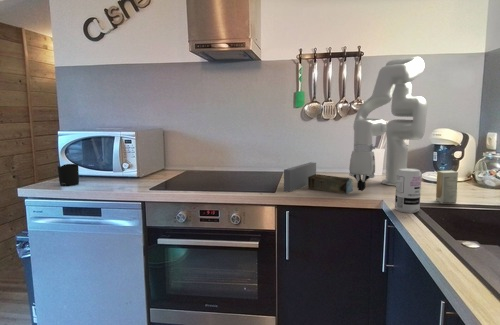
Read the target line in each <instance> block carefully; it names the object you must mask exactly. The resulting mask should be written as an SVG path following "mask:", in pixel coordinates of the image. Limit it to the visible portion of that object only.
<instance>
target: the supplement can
mask: <svg viewBox="0 0 500 325" xmlns="http://www.w3.org/2000/svg"><path fill="white" fill-rule="evenodd" d="M422 175H423V174H422V172H421V170H420V169H419V168H412V167H411V168H410V167H409V168H408V167H407V168H401V169H399V170H398V172H397V175H396V186H395V196H394V198H395V199H394V200H395V201H394V203H395V204H394V208H395V209H396V211H398V212H401V213H405V214H407V213H408V214H415V213H418V212H419V211H420V207H421V189H422Z"/></svg>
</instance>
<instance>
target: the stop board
mask: <svg viewBox="0 0 500 325" xmlns="http://www.w3.org/2000/svg"><path fill="white" fill-rule="evenodd" d="M315 174H317V162H315V161H314V162H312V161H311V162H308V163H303V164H300V165H297V166H291V167H288V168H285V169H283V192H284V193H291V192H294V191H296V190H299V189H302V188H304V187H306V186H307V187H308V177H309V176H312V175H315Z"/></svg>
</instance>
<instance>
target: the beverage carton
mask: <svg viewBox="0 0 500 325" xmlns="http://www.w3.org/2000/svg"><path fill="white" fill-rule="evenodd" d="M353 184H354V179H353V178H352V177H351V178H350V177H342V176H336V175H335V176H333V175H326V174H320V173H319V174H318V173H316V174H315V175H312V176H309V177H308V185H307V187H308V189H309V190H313V191H315V190H316V191H323V192H329V193H338V194H345V195H346V194H347V195H348V194H350V192H353V190H354V188H353V187H354V185H353Z"/></svg>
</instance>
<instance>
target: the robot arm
mask: <svg viewBox="0 0 500 325" xmlns="http://www.w3.org/2000/svg"><path fill="white" fill-rule="evenodd" d="M424 69H425V61H424V60H423V58H421V57H420V56H414V57H413V56H412V57H402V58H394V59H391V60H388V61H387V62H386V64H385V65H384V66H383V67H381V68H380V69H379V71H378V75H377V78H376V80H375V84H374V88H373V91H372V94H371V96H370V97H369V98H368V99H366V101H364V102H363V103H362V104H361V106H359V108H358V110H357V112H356V114H355V117H354V121H353V126H352V127H353V131H354V132H353V150H352V151H351V155H350V160H349V169H348V170H349V174H348V175H349V176H350V177H351V178H352V177H353V178H354V179H355V180H356V182H357V190H358V192H361V191H362V192H363V191H364V190H365V189H366V181H368V180H369V179H373V178H375V177H376V176H375V173H376V157H375V151H373V150H376V145H375V146H374V145H373V137H381V136H383V135H384V134H385V136H386V158H385V178H384V179H382V180H381V183H382V184H383V185H387V186H395V187H396V175H397V172H398V170H399V169H401V168H408V154H409V153H408V152H409V151H408V150H409V149H408V145H407V143H406V142H405V140H406V141H407V140H409V141H419V140H421V139H423V137H424V135H425V131H426V122H427V114H428V103H427V100H426V99H425V98H424V97H423V96H413V95H412V94H413V93H412V92H413V85H412V83H411V82H413V81H414V80H416V79H417V78H418V77H420V76H421V75H422V74H423V72H424ZM390 102H391V104H390V109H391V115H392V116H394V117H399V118H401V117H403V118H406V117H407V118H412V119H391V120H390V121H388V122H386V121H385V120H384V119H382V118H367V117H368V116H369V115H370V113H372V112H373V111H375V110H376V109H378V108H380V107H383V106H384V105H385V106H386V105H387V104H389V103H390Z"/></svg>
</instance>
